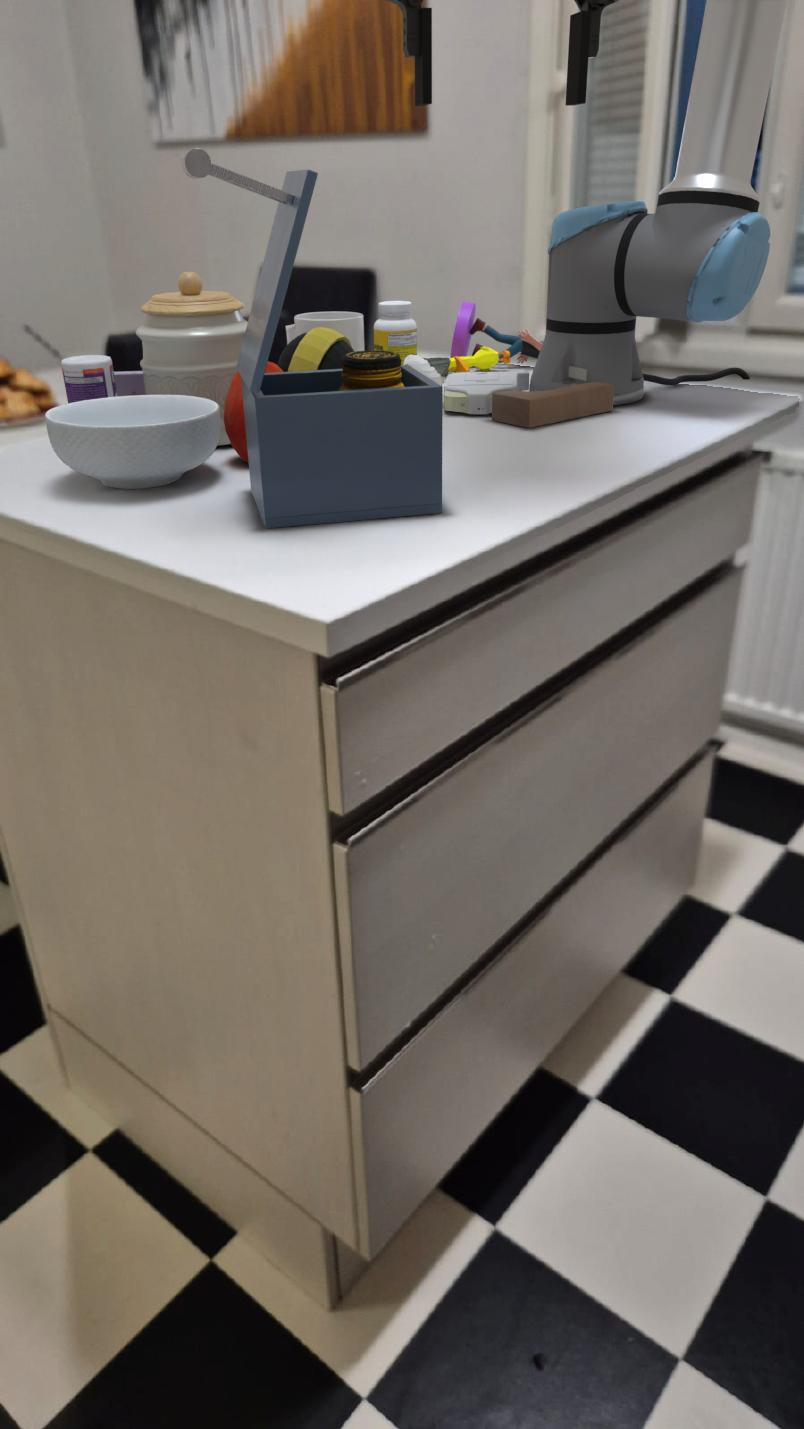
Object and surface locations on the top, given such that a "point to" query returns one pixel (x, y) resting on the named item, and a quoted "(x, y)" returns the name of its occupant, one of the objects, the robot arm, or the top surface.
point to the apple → (239, 413)
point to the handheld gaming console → (480, 389)
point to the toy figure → (478, 360)
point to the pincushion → (424, 368)
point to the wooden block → (551, 404)
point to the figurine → (466, 329)
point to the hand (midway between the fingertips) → (500, 105)
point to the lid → (276, 259)
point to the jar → (192, 343)
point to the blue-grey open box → (343, 448)
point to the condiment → (371, 370)
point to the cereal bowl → (135, 437)
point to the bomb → (315, 351)
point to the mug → (330, 326)
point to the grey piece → (439, 365)
